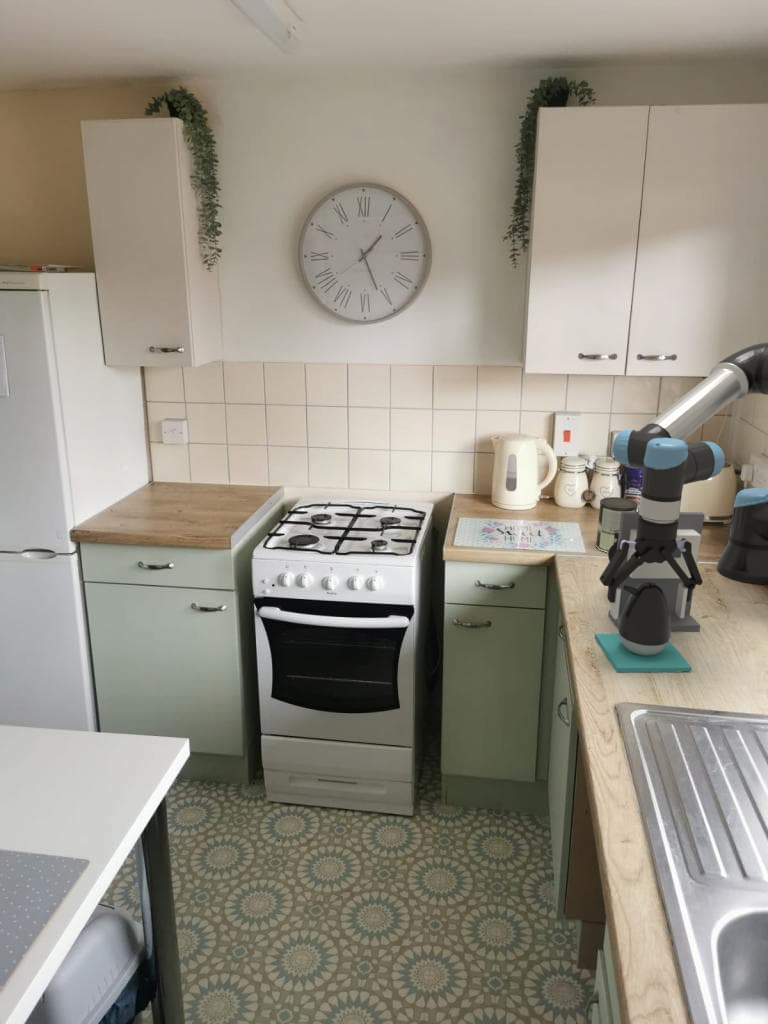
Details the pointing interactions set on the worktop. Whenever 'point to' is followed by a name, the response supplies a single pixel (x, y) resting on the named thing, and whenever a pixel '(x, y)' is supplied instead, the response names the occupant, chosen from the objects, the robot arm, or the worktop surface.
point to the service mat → (640, 657)
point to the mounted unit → (663, 567)
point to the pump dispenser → (645, 619)
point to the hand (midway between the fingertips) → (646, 615)
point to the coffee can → (611, 519)
